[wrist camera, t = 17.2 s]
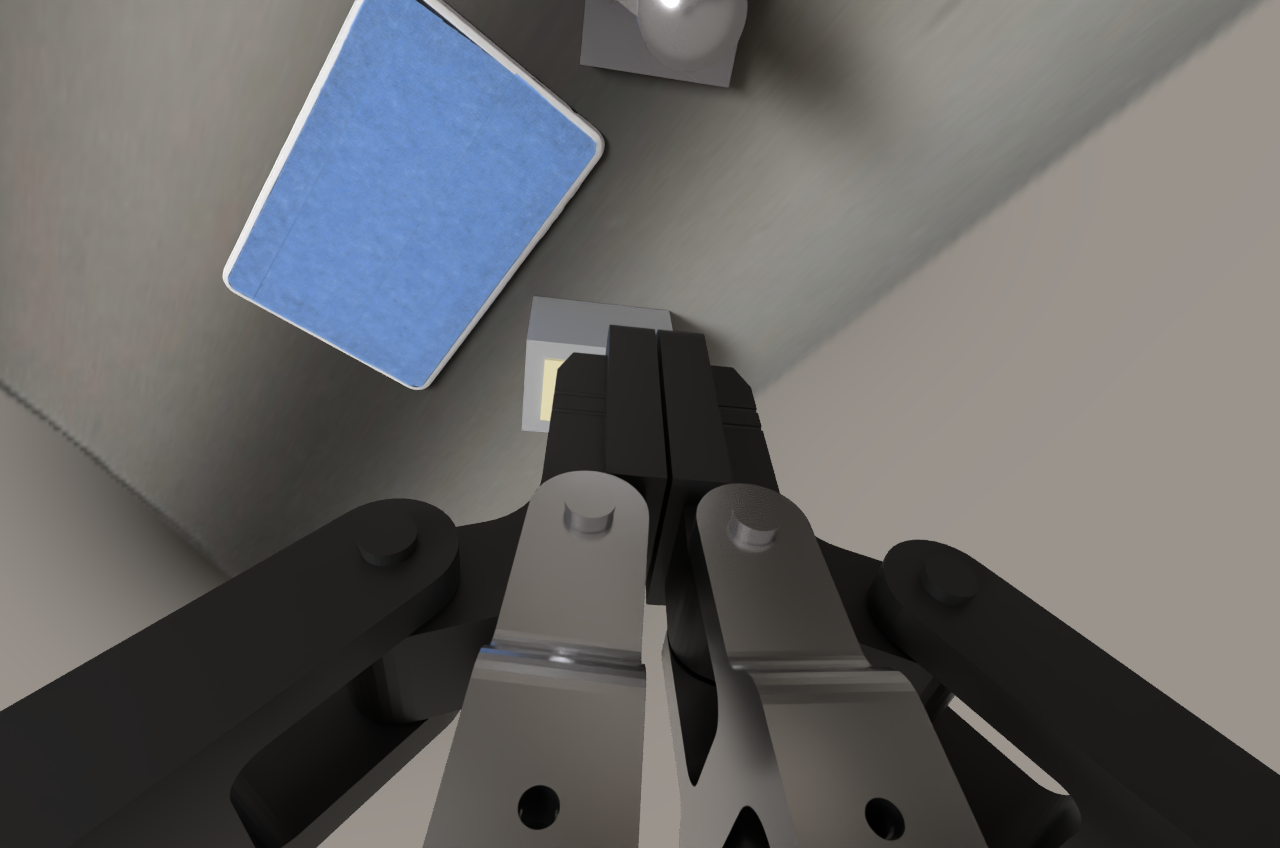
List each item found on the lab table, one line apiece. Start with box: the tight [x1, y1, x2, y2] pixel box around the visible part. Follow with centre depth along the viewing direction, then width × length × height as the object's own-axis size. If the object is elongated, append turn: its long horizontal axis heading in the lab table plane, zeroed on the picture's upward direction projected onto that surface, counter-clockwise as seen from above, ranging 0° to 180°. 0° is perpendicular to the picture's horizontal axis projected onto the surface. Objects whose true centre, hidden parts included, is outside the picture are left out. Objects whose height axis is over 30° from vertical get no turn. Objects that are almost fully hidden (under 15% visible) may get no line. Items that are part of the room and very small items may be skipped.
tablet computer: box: [223, 0, 605, 390], centre depth 35 cm, size 19×13×1 cm, turn 141°
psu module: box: [522, 296, 673, 432], centre depth 39 cm, size 8×6×5 cm
